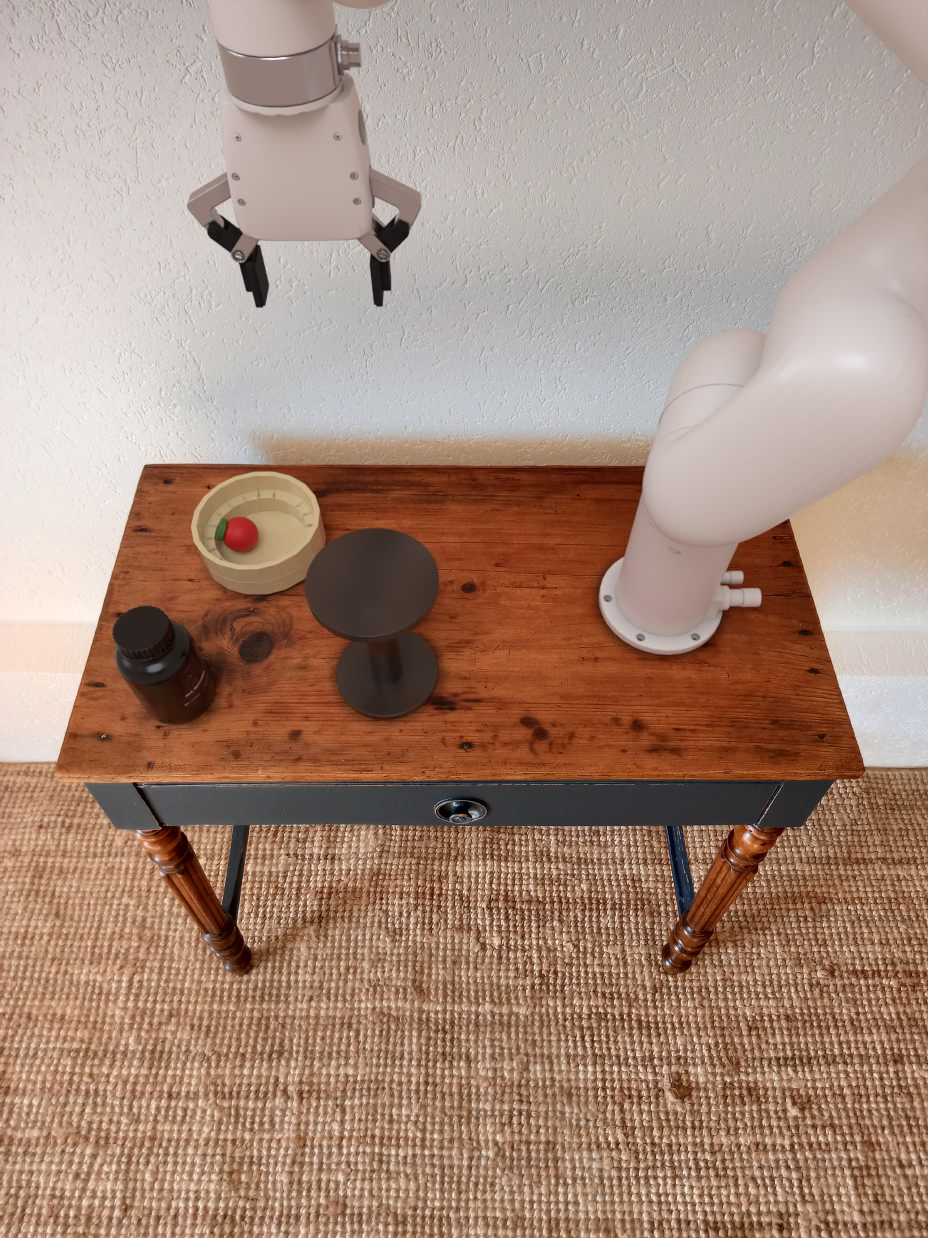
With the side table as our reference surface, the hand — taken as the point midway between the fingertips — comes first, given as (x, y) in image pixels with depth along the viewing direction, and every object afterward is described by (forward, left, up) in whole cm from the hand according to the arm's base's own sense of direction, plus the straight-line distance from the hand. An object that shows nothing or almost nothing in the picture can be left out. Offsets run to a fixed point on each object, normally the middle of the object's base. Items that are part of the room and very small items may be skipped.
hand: (321, 296), depth 66 cm
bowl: (+10, +4, -28) cm, 30 cm away
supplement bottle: (+16, +22, -28) cm, 39 cm away
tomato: (+10, +4, -27) cm, 29 cm away
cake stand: (-4, +20, -28) cm, 35 cm away
